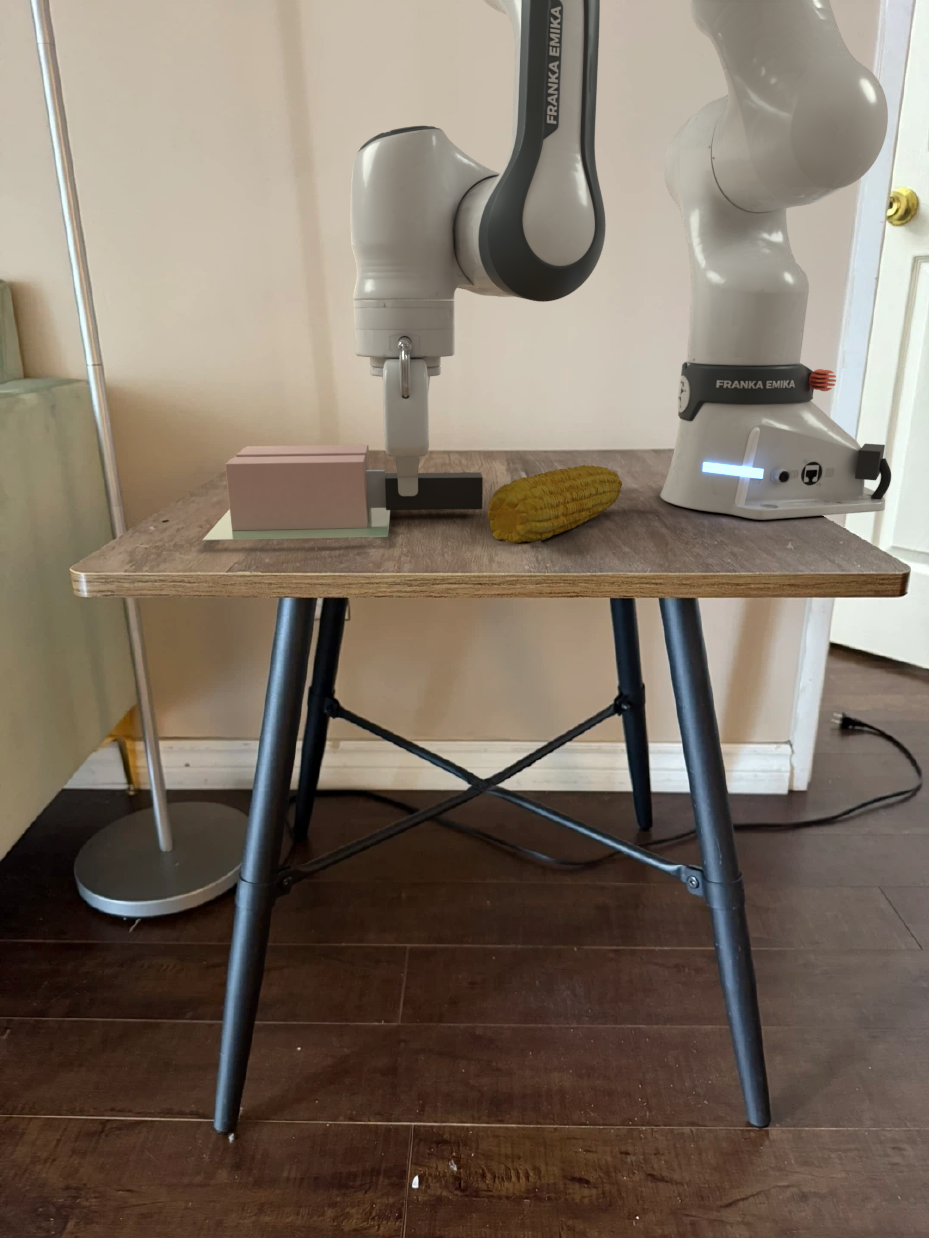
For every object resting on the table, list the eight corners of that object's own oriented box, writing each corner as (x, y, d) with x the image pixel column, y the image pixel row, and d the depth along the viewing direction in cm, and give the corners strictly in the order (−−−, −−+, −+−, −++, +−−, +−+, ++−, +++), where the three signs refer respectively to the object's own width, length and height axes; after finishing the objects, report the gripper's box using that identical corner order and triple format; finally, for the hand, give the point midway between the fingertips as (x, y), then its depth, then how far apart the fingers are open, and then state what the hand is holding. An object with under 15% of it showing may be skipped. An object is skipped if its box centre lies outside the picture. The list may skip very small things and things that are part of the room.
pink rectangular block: (371, 504, 87) (368, 444, 85) (369, 515, 82) (366, 452, 80) (250, 506, 86) (245, 446, 84) (241, 518, 81) (235, 454, 79)
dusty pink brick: (368, 519, 81) (365, 455, 79) (366, 528, 77) (363, 461, 75) (238, 521, 80) (232, 457, 78) (231, 530, 77) (225, 463, 75)
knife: (480, 503, 83) (480, 467, 82) (482, 509, 80) (482, 472, 79) (239, 505, 82) (235, 469, 80) (233, 512, 79) (230, 474, 78)
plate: (391, 507, 90) (391, 497, 90) (388, 547, 75) (388, 536, 75) (237, 510, 89) (236, 500, 89) (202, 551, 74) (201, 540, 74)
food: (535, 559, 71) (536, 488, 69) (477, 550, 74) (477, 481, 72) (631, 510, 88) (635, 452, 86) (581, 504, 91) (583, 447, 89)
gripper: (445, 339, 66) (446, 514, 71) (436, 332, 86) (438, 471, 90) (363, 339, 66) (369, 515, 71) (373, 332, 85) (378, 471, 90)
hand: (408, 490), depth 81 cm, fingers closed on knife, 2 cm apart
